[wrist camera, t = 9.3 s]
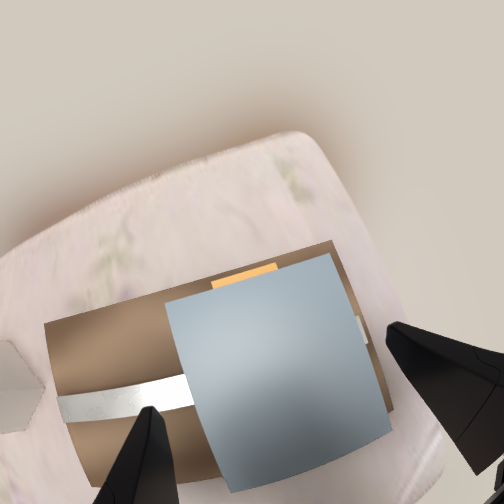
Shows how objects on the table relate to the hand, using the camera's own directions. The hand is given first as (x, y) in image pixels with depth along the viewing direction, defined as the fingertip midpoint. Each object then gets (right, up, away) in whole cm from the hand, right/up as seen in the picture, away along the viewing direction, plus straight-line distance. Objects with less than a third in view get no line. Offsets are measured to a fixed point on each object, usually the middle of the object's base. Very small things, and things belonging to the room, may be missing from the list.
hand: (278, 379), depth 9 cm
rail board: (-4, -5, +9) cm, 11 cm away
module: (0, -3, +8) cm, 9 cm away
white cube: (-22, -8, +7) cm, 25 cm away
